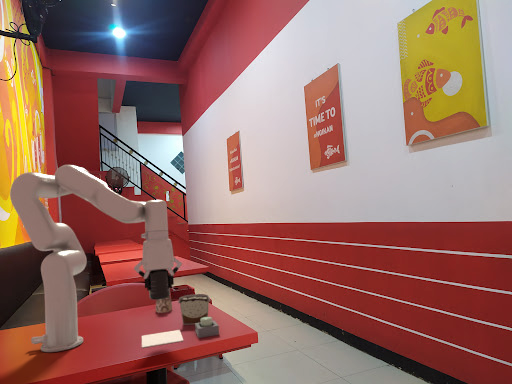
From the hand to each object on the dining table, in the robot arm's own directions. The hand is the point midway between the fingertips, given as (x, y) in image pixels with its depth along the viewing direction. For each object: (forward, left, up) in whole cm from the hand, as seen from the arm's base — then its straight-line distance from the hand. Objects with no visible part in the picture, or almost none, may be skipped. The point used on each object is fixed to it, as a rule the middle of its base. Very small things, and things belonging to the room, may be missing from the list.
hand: (159, 288), depth 123 cm
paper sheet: (0, 0, -17) cm, 17 cm away
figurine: (+3, +40, -17) cm, 44 cm away
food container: (+14, +14, -17) cm, 26 cm away
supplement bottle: (0, 0, -3) cm, 3 cm away
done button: (+15, -2, -15) cm, 21 cm away
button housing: (+15, -2, -17) cm, 23 cm away
